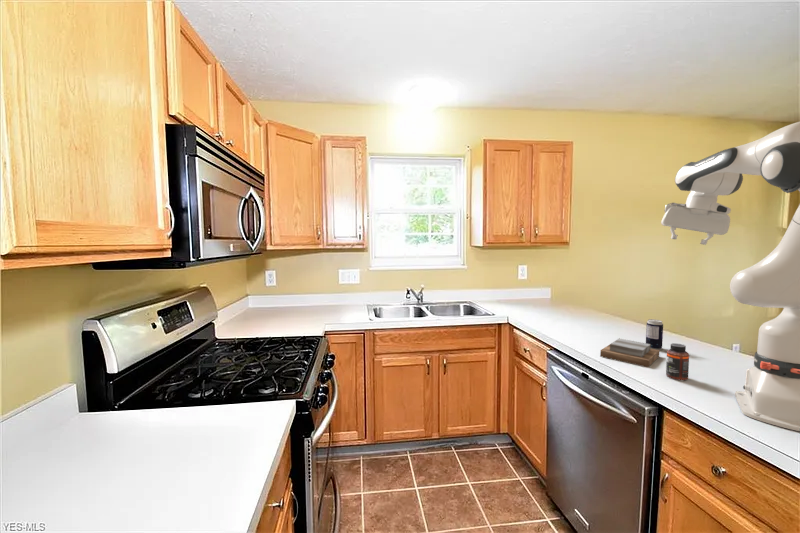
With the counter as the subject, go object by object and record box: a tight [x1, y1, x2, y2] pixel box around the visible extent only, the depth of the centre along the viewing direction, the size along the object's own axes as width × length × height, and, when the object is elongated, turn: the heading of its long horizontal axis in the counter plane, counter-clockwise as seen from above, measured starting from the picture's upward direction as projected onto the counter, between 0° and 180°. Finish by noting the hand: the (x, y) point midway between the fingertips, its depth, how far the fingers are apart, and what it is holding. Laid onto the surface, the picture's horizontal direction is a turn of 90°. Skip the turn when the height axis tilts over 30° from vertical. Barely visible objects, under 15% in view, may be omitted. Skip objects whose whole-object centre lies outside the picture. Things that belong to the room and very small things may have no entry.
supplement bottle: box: [665, 342, 690, 381], centre depth 117 cm, size 6×6×11 cm
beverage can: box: [645, 318, 664, 350], centre depth 147 cm, size 6×6×12 cm
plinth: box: [599, 337, 661, 368], centre depth 138 cm, size 16×16×5 cm
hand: (688, 241), depth 134 cm, fingers open, 8 cm apart
